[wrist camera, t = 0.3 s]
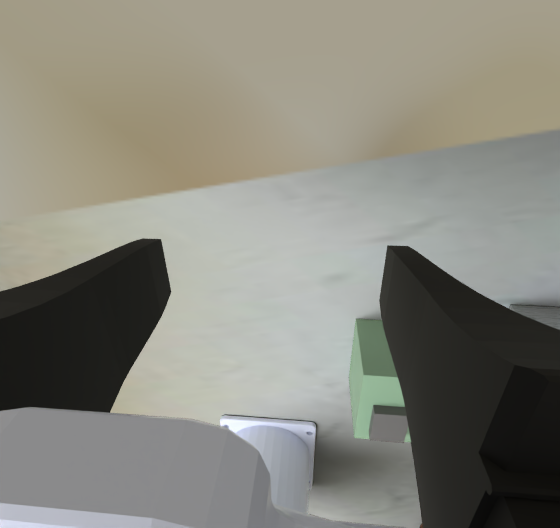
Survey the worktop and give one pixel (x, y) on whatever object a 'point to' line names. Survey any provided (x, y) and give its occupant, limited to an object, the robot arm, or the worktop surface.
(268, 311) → the worktop surface
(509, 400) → the robot arm
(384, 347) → the block
